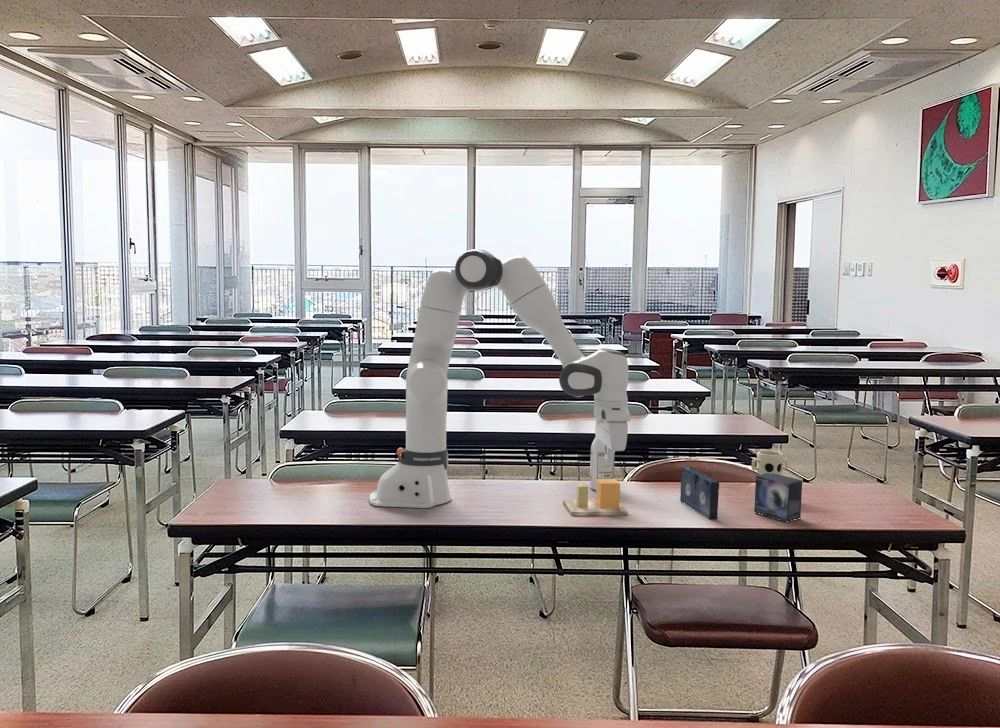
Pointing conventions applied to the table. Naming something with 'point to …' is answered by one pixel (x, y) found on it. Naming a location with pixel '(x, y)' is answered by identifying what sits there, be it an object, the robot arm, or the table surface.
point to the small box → (778, 496)
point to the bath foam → (599, 464)
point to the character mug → (769, 462)
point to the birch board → (592, 509)
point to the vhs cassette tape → (699, 492)
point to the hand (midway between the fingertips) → (609, 461)
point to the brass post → (582, 495)
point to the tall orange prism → (608, 493)
